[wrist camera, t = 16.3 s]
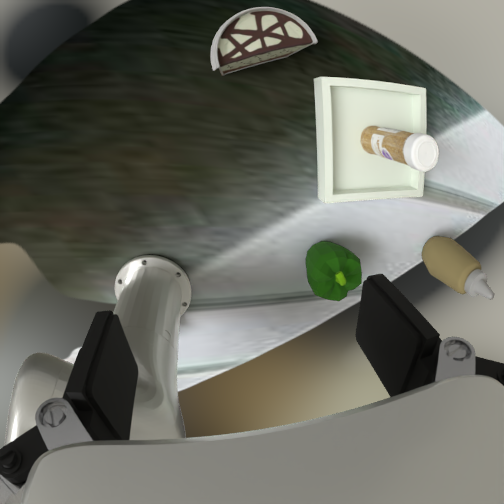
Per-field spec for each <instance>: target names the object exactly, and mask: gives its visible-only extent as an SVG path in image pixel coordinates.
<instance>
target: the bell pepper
mask: <svg viewBox="0 0 504 504" xmlns="http://www.w3.org/2000/svg"><path fill="white" fill-rule="evenodd" d="M306 268H307V278H308V282H309V284H310V286H311V288H312V290H313V292H314V294H315V295H317V296H319V297H322V298H325V299H328V300H335V301H340V300H342V299H343V298H345V297H346V296H347V292H348V291H349V290H354V289H355V288H356V287H358V286H359V285H360V284H361V276H362V272H361V265H360V259H359V258H358V257H357V256H356V255H355V254H354V253H352V252H351V251H349V250H348V249H346V248H344V247H342V246H340V245H337V244H334V243H332V242H326V241H321V242H319V243H317V244H314V245H313V246H312V247H311V248H310V249H309V250H308V252H307V256H306Z"/></svg>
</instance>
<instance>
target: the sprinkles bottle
mask: <svg viewBox="0 0 504 504" xmlns="http://www.w3.org/2000/svg"><path fill="white" fill-rule="evenodd" d="M360 141H361V145H362V147H363V149H364V150H365V151H366V152H367V153H370V154H375V155H378V156H380V157H383V158H386V159H389V160H393V161H397V162H399V163H403V164H405V165H409V166H410V167H411V168H413V169H415V170H418V171H421V172H427V171H430V170H431V169H433V168H434V167H435V165H436V163H437V161H438V157H439V148H438V145H437V143H436V141H435V140H434V138H432V137H431V136H429V135H427V134H423V133H410V132H406V131H402V130H397V129H391V128H384V127H377V126H368V127H367V128H365V129H364V130H363V132H362V134H361V140H360Z"/></svg>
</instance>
